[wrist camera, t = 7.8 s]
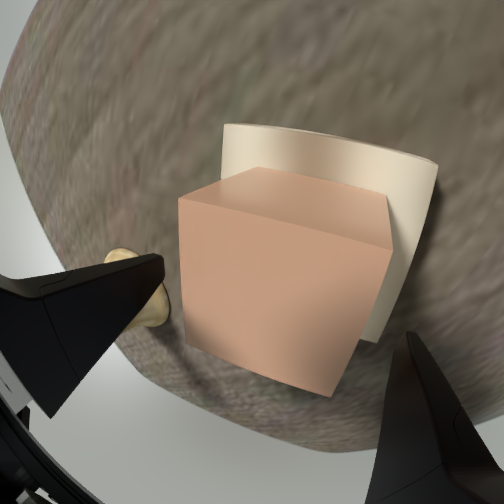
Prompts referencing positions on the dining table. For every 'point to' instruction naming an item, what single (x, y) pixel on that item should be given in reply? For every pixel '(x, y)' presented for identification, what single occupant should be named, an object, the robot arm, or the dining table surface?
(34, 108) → the dining table surface
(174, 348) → the dining table surface
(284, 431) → the dining table surface
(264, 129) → the base
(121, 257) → the hand bell
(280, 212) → the cube
